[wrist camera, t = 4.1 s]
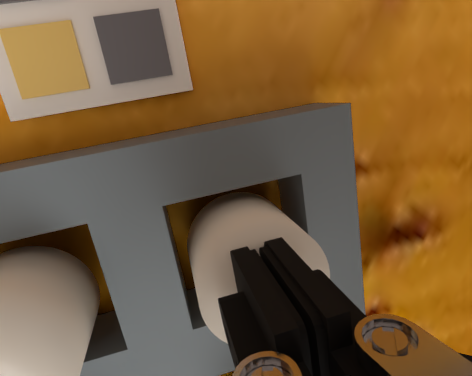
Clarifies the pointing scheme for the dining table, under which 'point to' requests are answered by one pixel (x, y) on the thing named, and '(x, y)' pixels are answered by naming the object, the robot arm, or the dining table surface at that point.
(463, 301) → the dining table surface
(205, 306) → the button
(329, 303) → the robot arm
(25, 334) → the button
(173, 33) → the card
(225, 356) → the board
